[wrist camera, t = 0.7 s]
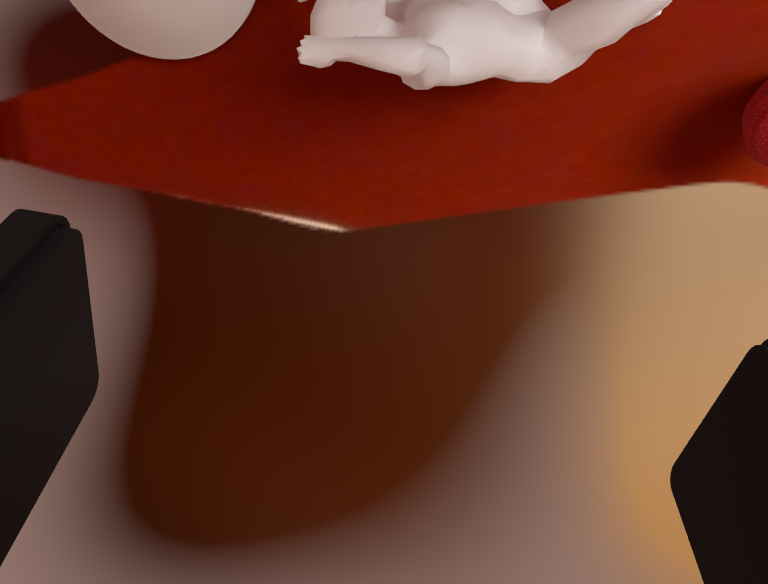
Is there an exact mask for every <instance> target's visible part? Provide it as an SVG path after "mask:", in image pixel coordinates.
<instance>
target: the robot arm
mask: <svg viewBox="0 0 768 584" xmlns="http://www.w3.org/2000/svg"><path fill="white" fill-rule="evenodd" d="M98 379H99V372H98V364H97V355H96V347H95V338H94V330H93V321H92V312H91V304H90V295H89V288H88V278H87V270H86V261H85V253H84V244H83V239H82V234H81V233H80V231H79V230H77V229H72V228H70V224H69V222H68V220H67V218H65V217H63V216H60V215H54V214H48V213H43V212H37V211H31V210H25V209H17V210H15V211H14V212H12V213H11V214H10V215H9V216H8V217H7V218H6V219H5V220H4V221H3V222H2V223H1V224H0V566H1V564H2V562H3V561H4V559H5V557H6V555H7V554H8V552H9V550H10V548H11V546H12V545H13V543H14V541H15V539H16V537H17V536H18V534H19V532H20V530H21V528H22V526H23V525H24V523H25V521H26V519H27V517H28V516H29V514H30V512H31V510H32V509H33V507H34V505H35V503H36V501H37V499H38V498H39V496H40V494H41V492H42V491H43V488H44V487H45V485H46V483H47V482H48V480H49V478H50V476H51V474H52V473H53V471H54V469H55V467H56V465H57V464H58V462H59V460H60V458H61V456H62V455H63V453H64V451H65V449H66V447H67V445H68V444H69V442H70V440H71V438H72V436H73V435H74V433H75V431H76V429H77V427H78V426H79V424H80V422H81V420H82V419H83V417H84V415H85V413H86V411H87V410H88V408H89V406H90V404H91V402H92V400H93V398H94V396H95V393H96V390H97V386H98ZM670 484H671V489H672V492H673V495H674V498H675V501H676V504H677V507H678V510H679V513H680V516H681V519H682V522H683V524H684V527H685V530H686V533H687V536H688V539H689V542H690V545H691V547H692V550H693V553H694V556H695V559H696V562H697V565H698V567H699V570H700V573H701V576H702V579H703V582H704V584H768V339H767V340H765V341H764V342H763V343H762V344H761V345H755V346H754V347H752V348H751V349H750V350H749V351H748V353H747V354H746V356H745V357H744V359H743V360H742V362H741V363H740V365H739V366H738V368H737V369H736V371H735V372H734V374H733V375H732V377H731V378H730V380H729V381H728V383H727V384H726V386H725V388H724V389H723V390H722V392H721V393H720V395H719V396H718V398H717V400H716V401H715V403H714V404H713V406H712V407H711V409H710V410H709V412H708V413H707V415H706V416H705V418H704V419H703V421H702V423H701V424H700V425H699V427H698V428H697V430H696V431H695V433H694V434H693V436H692V437H691V439H690V440H689V442H688V444H687V445H686V446H685V448H684V449H683V451H682V453H681V454H680V456H679V457H678V459H677V460H676V462H675V463H674V465H673V467H672V471H671V476H670Z"/></svg>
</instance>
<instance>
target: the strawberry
mask: <svg viewBox="0 0 768 584" xmlns="http://www.w3.org/2000/svg"><path fill="white" fill-rule="evenodd" d="M742 130H743V138H744V145H745V147H746V149H747V151H748V153H749V154H750V155H751V156H752V157H753V158H754V159H755V160H756V161H758V162H760V163H761V164H763V165H765V166H766V167H768V79H767V80H766V81H765V82H764V83H763V84H762V85H761V86H760V87H759V88H758V89H757V91H756V92H755V93H754V94H753V96H752V97H751V99H750V100H749V102H748V103H747V105H746V107H745V110H744V112H743V116H742Z"/></svg>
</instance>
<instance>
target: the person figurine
mask: <svg viewBox="0 0 768 584" xmlns="http://www.w3.org/2000/svg"><path fill="white" fill-rule="evenodd" d="M297 1H299V2H304V1H307V0H297ZM671 2H672V0H572V1H570V2H568V3H566V4H565V5H563V6H561V7H559V8H557V9H555V10H553V11H551V10H550V9H549V8H548V7H547V6H546V5H545V3H544V2H543V1H542V0H316V3H315V5H314V8H313V10H312V13H311V15H310V35H311V36H308V35H305V36H304V39H303V40H300V43H301V46H300V47H297V48H296V49H297V51H298V54H299V57H298V59H299V61H300V64H305V65H309V66H314V67H317V68H324V67H328V66H331V65H332V64H333V63H334V62H335V61H346V62H352V63H355V64H359V65H362V66H366V67H369V68H373V69H376V70H380V71H384V72H388V73H393V74H397V75H399V76H401V78H402V82H403V83H405V84H406V85H408V86H410V87H412V88H413V89H415V90H429V89H430V88H432V87H434V86H458V85H465V84H470V83H474V82H477V81H481V80H485V79H488V78H492V77H496V78H500V79H504V80H509V81H513V82H537V83H551V82H552V81H554V80H556V79H558V78H559V77H561V76H563V75H565V74H566V73H568V72H570V71H572V70H574V69H575V68H577V67H579V66H581V65H582V64H583V63H584V62H585V61H586V60H587V59H588V58H589V57H590V56H591V55H592V54H593V53H594V52H595V51H596V50H597V49H600V48H602V47H605V46H608V45H611V44H613V43H615V42H616V41H617V40H619V39H620V38H621V37H622V36H623V35H624V34H626V33H627V32H628V31H629V30H630V29H632V28H634V27H637V26H639V25H642V24H644V23H646V22H648V21H650V20H652V19H653V18H655V17H657V16H658V15H660V14H661V12H662V9H664V8H665V7H667V6H668V5H669V4H670V3H671Z"/></svg>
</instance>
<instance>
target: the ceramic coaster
mask: <svg viewBox="0 0 768 584" xmlns="http://www.w3.org/2000/svg"><path fill="white" fill-rule="evenodd" d="M70 1H71V3H72V4H73V5H74V7H75V8H76V9H77V10H78V11H79V12H80V14H81V15H82V16H83V17H84V18H85V19H86V20H87V21H88V22H89V23H90V24H91V25H93V26H94V27H95V28H96V29H97V30H98V31H99V32H101V33H102V34H104V35H105V36H107V37H108V38H109V39H111V40H112V41H114V42H116V43H117V44H119V45H121V46H123V47H125V48H127V49H130V50H132V51H134V52H136V53H139V54H143V55H146V56H149V57H155V58H161V59H186V58H192V57H196V56H200V55H203V54H205V53H208V52H210V51H212V50H214V49H216V48H217V47H219V46H221V45H222V44H223V43H225V42H226V41H227V40H228V39H229V38H231V37H232V36H233V35H234V34H235V32H236V31H237V30H238V29H239V28H240V27H241V25H242V24H243V23H244V21H245V20H246V18H247V17H248V15H249V14H250V12H251V10H252V8H253V6H254V4H255V2H256V0H70Z"/></svg>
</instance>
